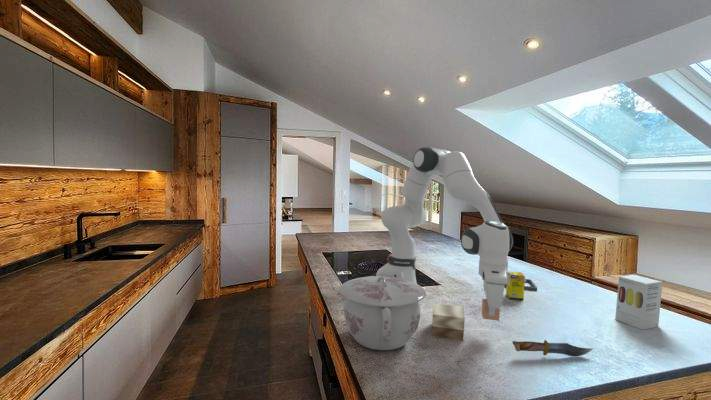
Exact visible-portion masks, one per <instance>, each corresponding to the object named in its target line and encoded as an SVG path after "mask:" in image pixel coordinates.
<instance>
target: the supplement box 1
mask: <svg viewBox="0 0 711 400" xmlns="http://www.w3.org/2000/svg"><path fill="white" fill-rule="evenodd" d="M525 278H526V276H525V275H524V274H523V272H522V271H521V272H520V271H509V270H508V272H507V286H506V287H505V288H506V289H505V290H506V293H505V295H506V297H507V298H508V299H509V300H514V301H515V300H517V301H524V297H525V290H524V284H525V282H524V281H525Z"/></svg>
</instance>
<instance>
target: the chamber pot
mask: <svg viewBox="0 0 711 400" xmlns="http://www.w3.org/2000/svg"><path fill="white" fill-rule="evenodd" d="M339 293H340V295H341V296H343V297H344V298H345V300H344V302H343V315H344V322H345V325H346V328H347V330H348V331H349V333H350V334H351V336H352V338H353V339H354V340H355V341H356V342H357V343H358V344H359V345H360V346H363V347H365V348H367V349H370V350H375V351H394V350H397V349H400V348H402V347H404V346H405V345H407V344H408V342H409V341H410V340H411V338H412V337H413V336H414V334H415V332H416V331H417V330H418V327H419V323H420V319H421V304H420V302H421V301H422V300H423V299H424V298H425V297H426V295H427V294H426V290H425V289H424V287H422V286H421V285H420V284H418V283H417V284H416V283H414V282H412V281H408V280H405V279H401V278H395V277H387V276H376V275H374V276H372V275H370V276H363V277H356V278H354V279H349V280H347V281H345V282H344V283H342V284H341V286H340V287H339Z"/></svg>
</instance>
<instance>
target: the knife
mask: <svg viewBox="0 0 711 400" xmlns="http://www.w3.org/2000/svg"><path fill="white" fill-rule="evenodd" d="M511 342H512V344H513V347H514V348H515V349H514V350H515V352H521V351H522V352H542V355H543V356H547V355H548V354H561V355H565V356H569V357H574V358H575V357H581V356H584V355H587V354H588V353H590V352H591V351H592V350H593V348H589V347H580V346H575V345H572V344H570V343H568V342H548V341H547V340H546V339H544V340H543V342H539V341H538V342H537V341H524V340H523V341H516V340H512V341H511Z"/></svg>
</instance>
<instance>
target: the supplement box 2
mask: <svg viewBox="0 0 711 400" xmlns="http://www.w3.org/2000/svg"><path fill="white" fill-rule="evenodd" d="M617 285H618V286H617V294H616V295H617V296H616V305H615V308H616V309H615V319H614V320H617V321H619V322H621V323H624V324H626V325H629V326H632V327H635V328H637V329H640V330H641V331H644V330H648V329H653V328H657V327H659V324H660V323H659V322H660V312H661V311H660V310H661V301H662V290H663V281H661V280H657V279H652V278H649V277H646V276H645V277H644V276H641V275H637V274H628V275H620V276H618V283H617Z"/></svg>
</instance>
